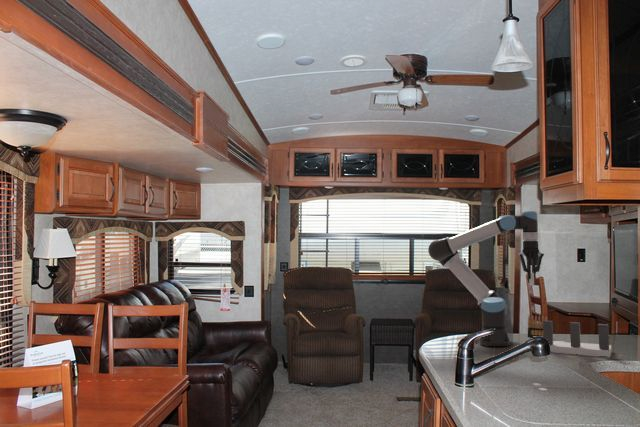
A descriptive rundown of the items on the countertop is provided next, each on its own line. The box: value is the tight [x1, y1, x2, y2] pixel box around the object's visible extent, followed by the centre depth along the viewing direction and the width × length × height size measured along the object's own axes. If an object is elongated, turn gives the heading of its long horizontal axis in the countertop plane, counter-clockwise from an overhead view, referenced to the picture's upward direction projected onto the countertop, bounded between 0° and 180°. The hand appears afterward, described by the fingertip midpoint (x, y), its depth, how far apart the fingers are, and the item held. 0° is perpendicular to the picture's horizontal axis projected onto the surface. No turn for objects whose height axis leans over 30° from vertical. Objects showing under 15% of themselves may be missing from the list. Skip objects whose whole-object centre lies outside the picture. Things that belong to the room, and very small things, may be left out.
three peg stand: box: [543, 319, 613, 358], centre depth 259 cm, size 13×29×14 cm, turn 60°
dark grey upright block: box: [569, 321, 581, 347], centre depth 256 cm, size 2×4×11 cm, turn 60°
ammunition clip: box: [527, 314, 549, 338], centre depth 293 cm, size 11×2×12 cm, turn 58°
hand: (531, 285), depth 284 cm, fingers closed
